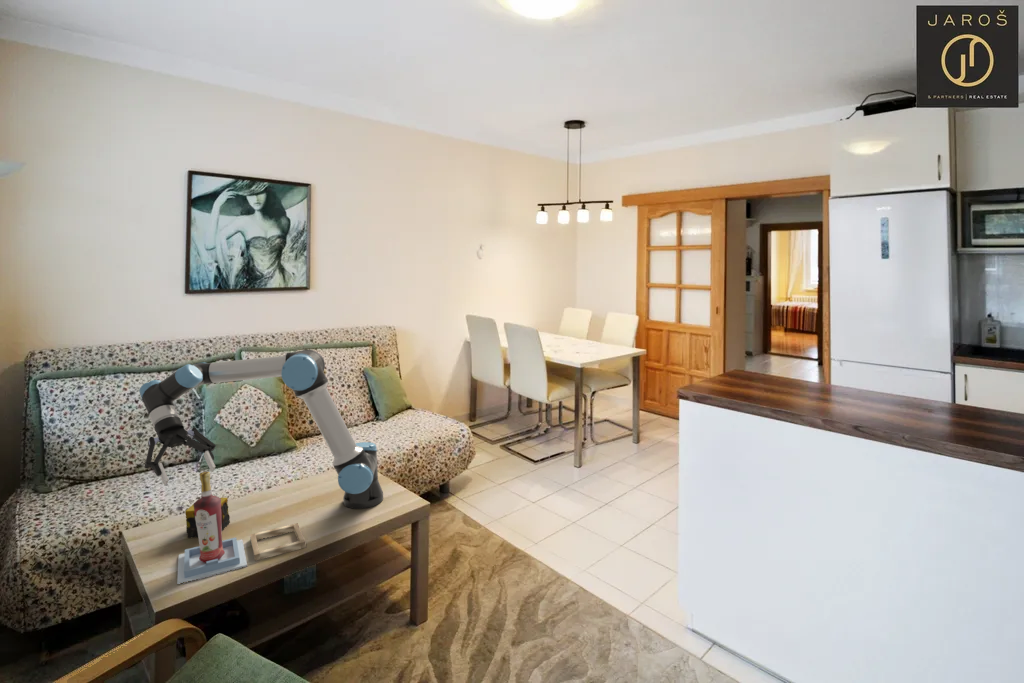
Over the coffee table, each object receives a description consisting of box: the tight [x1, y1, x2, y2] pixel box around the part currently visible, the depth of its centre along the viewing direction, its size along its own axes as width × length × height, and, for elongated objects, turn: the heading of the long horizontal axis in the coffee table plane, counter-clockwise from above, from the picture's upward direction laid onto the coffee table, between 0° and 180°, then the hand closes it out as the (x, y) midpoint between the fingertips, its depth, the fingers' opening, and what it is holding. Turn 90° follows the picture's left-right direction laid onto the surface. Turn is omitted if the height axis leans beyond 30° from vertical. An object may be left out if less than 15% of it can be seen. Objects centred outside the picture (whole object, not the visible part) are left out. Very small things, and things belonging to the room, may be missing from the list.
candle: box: [184, 497, 231, 539], centre depth 180 cm, size 10×10×10 cm
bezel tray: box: [176, 537, 248, 585], centre depth 161 cm, size 18×18×3 cm
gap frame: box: [249, 522, 307, 561], centre depth 171 cm, size 15×15×2 cm
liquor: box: [192, 471, 225, 563], centre depth 159 cm, size 7×7×28 cm
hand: (190, 475), depth 164 cm, fingers open, 13 cm apart
